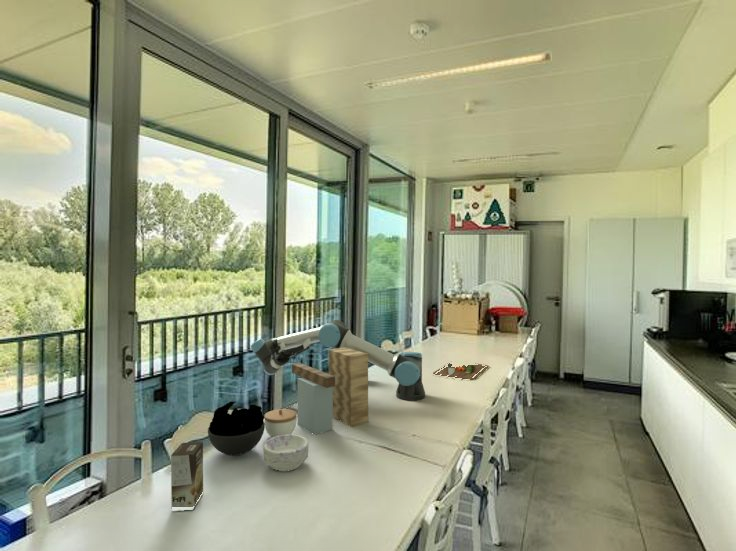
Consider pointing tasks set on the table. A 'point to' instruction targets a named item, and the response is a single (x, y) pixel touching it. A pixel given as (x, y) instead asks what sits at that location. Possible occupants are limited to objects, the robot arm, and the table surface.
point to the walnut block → (313, 375)
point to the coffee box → (187, 474)
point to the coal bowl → (236, 429)
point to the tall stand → (349, 385)
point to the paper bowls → (285, 452)
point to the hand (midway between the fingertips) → (297, 342)
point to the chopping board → (462, 371)
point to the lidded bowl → (280, 422)
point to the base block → (314, 406)
